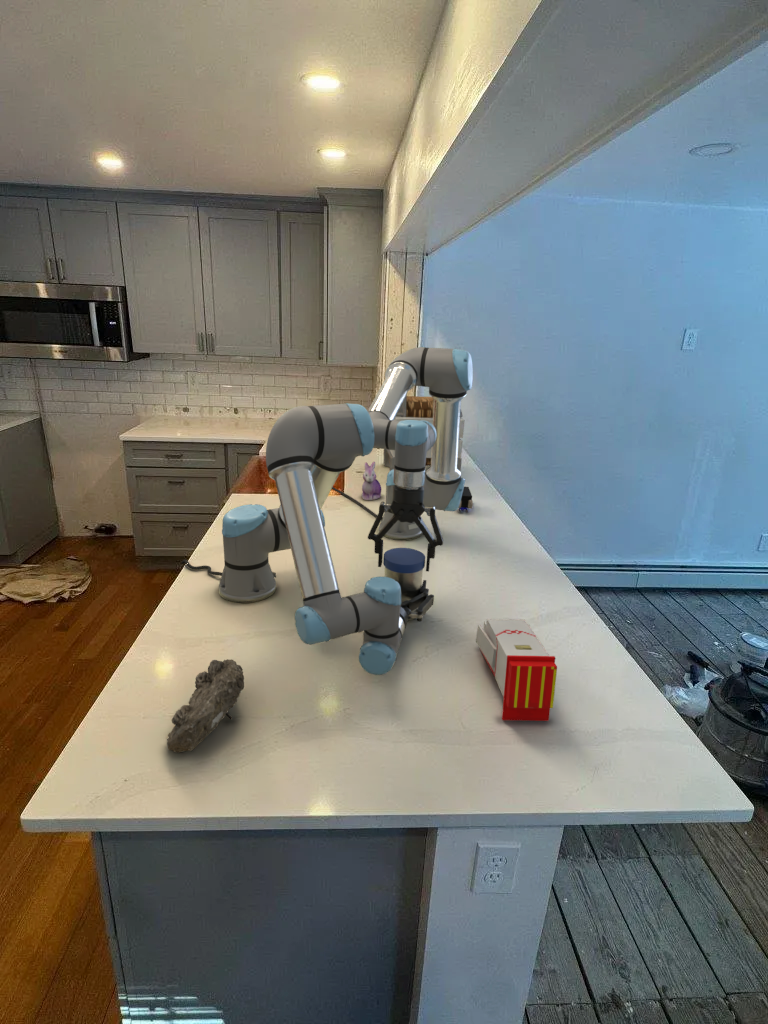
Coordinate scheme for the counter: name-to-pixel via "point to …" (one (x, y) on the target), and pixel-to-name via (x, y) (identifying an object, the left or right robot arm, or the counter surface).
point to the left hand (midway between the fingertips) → (405, 582)
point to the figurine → (370, 483)
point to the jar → (407, 584)
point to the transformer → (420, 411)
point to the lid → (404, 560)
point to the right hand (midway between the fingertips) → (403, 567)
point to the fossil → (206, 705)
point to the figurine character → (466, 500)
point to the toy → (519, 668)
